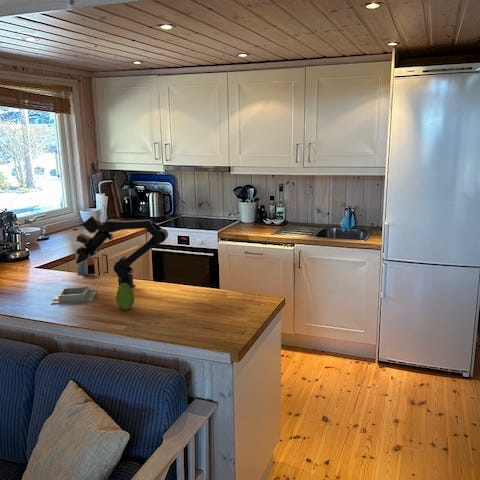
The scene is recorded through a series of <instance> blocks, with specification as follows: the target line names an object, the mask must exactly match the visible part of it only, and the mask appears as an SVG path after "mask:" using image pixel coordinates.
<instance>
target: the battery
mask: <svg viewBox="0 0 480 480" xmlns="http://www.w3.org/2000/svg"><path fill="white" fill-rule="evenodd" d="M87 268H88V274H87V275H86V276H90V275H95V274H96V268H95V259H94V257H93V256H91V257H89V258H88V259H87Z"/></svg>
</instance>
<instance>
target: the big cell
mask: <svg viewBox="0 0 480 480" xmlns="http://www.w3.org/2000/svg"><path fill="white" fill-rule="evenodd" d="M76 250H77V249H76ZM76 250H75V251H74V252H75V263H76V261H77V258H78V256H79V254H78V253H76ZM76 271H77V272H76V273H77V276H80V277H81V276H82V277H84V276H88V275H87V274H88V268H87V259H86V260H84V261H82V262H80V263H78V264H77V263H76Z"/></svg>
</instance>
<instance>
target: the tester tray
mask: <svg viewBox="0 0 480 480" xmlns="http://www.w3.org/2000/svg"><path fill="white" fill-rule="evenodd" d="M96 294H97V292H96V291H90V290H89V286H77V287H63V288H62V290H60V292H59V293H58V294H56V295H55V296H54V297H53V299H52V301H51V305H61V304H76V303H77V304H78V303H88V302H94V301H93V300H94V299H95V296H96Z"/></svg>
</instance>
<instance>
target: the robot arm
mask: <svg viewBox="0 0 480 480" xmlns="http://www.w3.org/2000/svg"><path fill="white" fill-rule="evenodd" d="M81 227H83V228H84V229H85V230H86V231H87V232H89V233H90V234H94V235H93V236H92V237H91V236H88V235H87V234H84V233H79V234H78V235H77V237H76V242H77V243H81V244H83V246H80V247H78V248H77V249H76V253H78V254H79V256H78V258H77V261H76V260H75V263H77V264H78V263H80V262H82V261H84V260H86V259H88V258H89V257H91V256H92V257H93V256H95V255H96V254H97V253H100V251H102V246H103V245H104V243H105V241H107V240H109V241H112V240H113V239H114V236H113V233H116V232H120V231H122V230H137V229H138V230H140V229H145V230H147V232H149V234H150V235H151V237H150V239H149V240H148V241H146V242H145V243H144V244H143V245H141V246H140V247H139V248H138V249H136V250H135V251H134V252H132V253H131V254H130V255H129V256H125V255H123V256H122V257H121V258H120V259H118V260H116V261H115V263H114V266H113V271H114V273H116V275H117V277H118V279H117V282H118V286H117V289H118V288H119V286H120V285H121V284H122V283H126V284H128V285H129V286H130V287H131V289H132V288H134V287H135V286H136V285H135V284H134V276H133V272H134V269H133V267H131V265H132V264H133V263H134V262H136V261H137V260H139V258H141V257H142V256H143V255H145V254H146V253H147V252H149V250H150V249H153V248H154V247H156V246H158V245H160V244H162V243H164V242H165V241H167V239H168V237H169V232H168V230H167V229H165V228H162V227H161V226H160V225H158V224H157V223H155V222H154V221H153V220H151V219H143V220H142V219H139V220H121V219H114V218H113V219H109V220H107V221H105V222H101V223H100V222H99V221H98V220H97V219H96V218H95V217H94V215H92V216H90V217H89V218H88V219H86V220H85V221H84V222H83V224H81ZM77 264H76V265H77Z"/></svg>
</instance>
